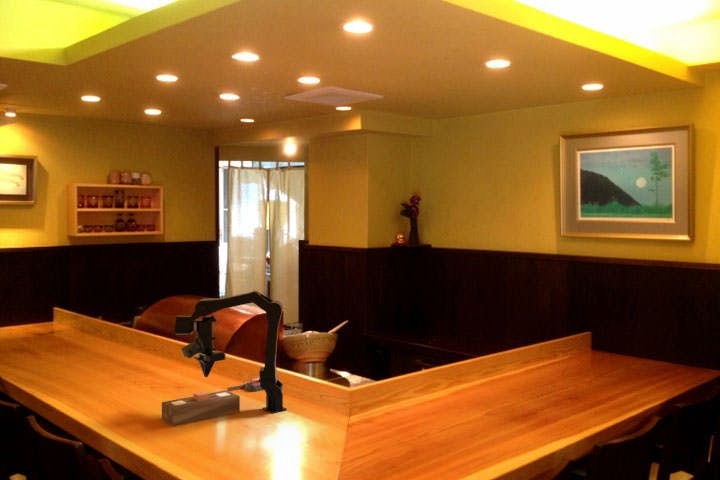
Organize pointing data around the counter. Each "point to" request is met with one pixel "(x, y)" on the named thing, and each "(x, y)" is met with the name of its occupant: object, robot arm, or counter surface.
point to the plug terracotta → (201, 396)
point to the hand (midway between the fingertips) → (206, 376)
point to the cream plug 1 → (178, 403)
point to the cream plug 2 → (223, 394)
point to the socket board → (200, 409)
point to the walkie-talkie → (249, 386)
